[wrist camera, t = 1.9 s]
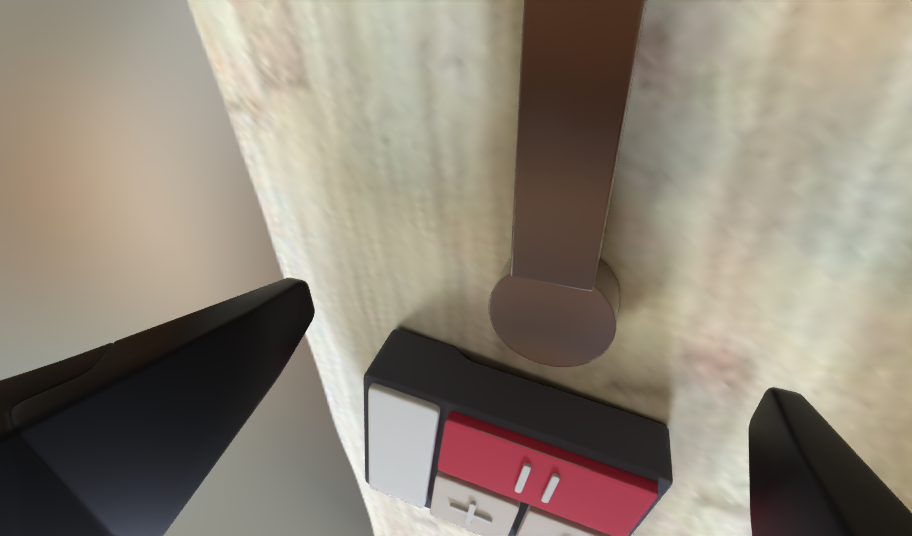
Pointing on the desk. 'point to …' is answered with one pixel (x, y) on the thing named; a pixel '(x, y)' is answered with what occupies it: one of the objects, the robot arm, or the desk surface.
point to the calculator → (505, 447)
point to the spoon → (566, 178)
